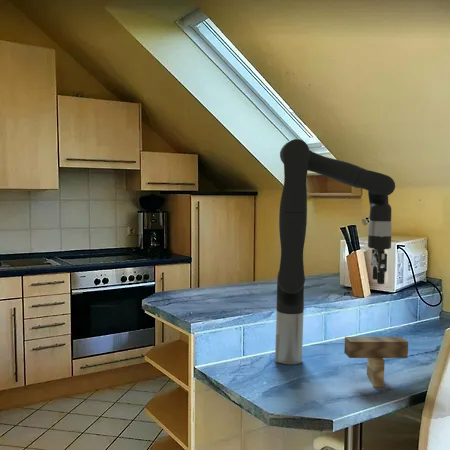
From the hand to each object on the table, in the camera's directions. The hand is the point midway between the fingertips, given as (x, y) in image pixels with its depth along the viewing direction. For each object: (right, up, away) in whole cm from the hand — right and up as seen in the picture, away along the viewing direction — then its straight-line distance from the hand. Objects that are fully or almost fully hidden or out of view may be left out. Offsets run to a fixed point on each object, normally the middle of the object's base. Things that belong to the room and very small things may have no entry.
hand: (378, 281), depth 165 cm
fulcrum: (-6, -29, -16) cm, 33 cm away
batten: (-6, -21, -17) cm, 27 cm away
